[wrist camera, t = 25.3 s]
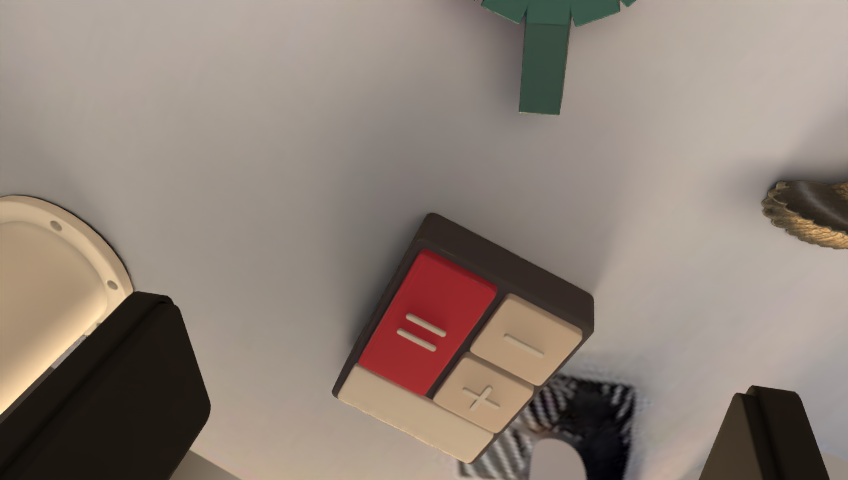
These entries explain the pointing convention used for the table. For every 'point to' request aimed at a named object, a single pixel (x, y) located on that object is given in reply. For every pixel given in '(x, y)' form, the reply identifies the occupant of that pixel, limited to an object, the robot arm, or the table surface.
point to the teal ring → (548, 44)
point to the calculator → (462, 340)
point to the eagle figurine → (810, 211)
